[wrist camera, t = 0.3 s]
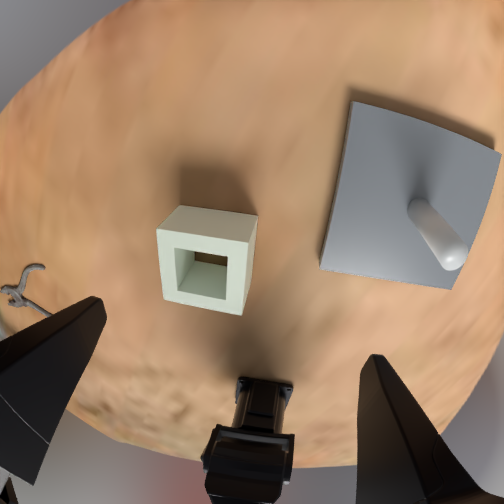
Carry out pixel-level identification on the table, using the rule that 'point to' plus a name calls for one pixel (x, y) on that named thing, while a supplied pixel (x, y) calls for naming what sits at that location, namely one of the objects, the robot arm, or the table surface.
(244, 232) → the hollow square sleeve
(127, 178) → the table surface
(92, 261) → the table surface
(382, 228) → the post stand
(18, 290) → the pliers
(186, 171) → the table surface
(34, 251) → the table surface
